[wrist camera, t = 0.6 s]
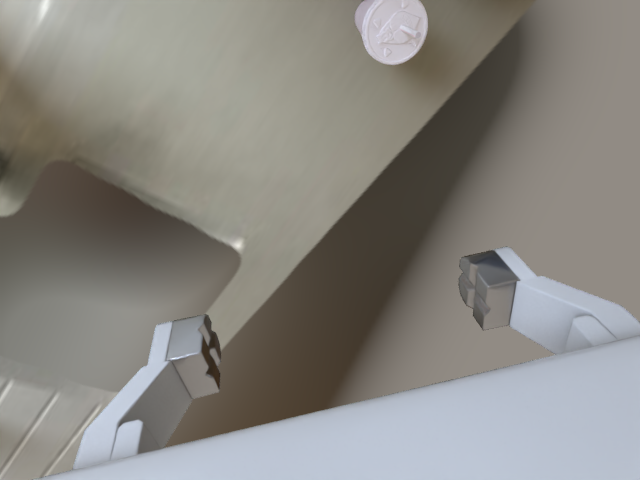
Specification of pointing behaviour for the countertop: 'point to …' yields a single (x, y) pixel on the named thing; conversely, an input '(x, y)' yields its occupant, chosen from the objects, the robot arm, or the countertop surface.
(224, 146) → the countertop surface
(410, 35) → the smoothie
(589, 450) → the robot arm
